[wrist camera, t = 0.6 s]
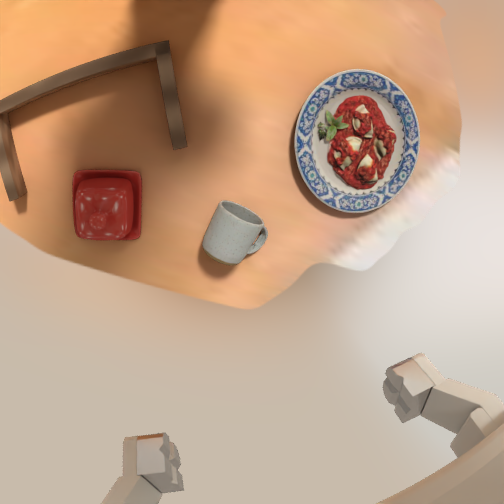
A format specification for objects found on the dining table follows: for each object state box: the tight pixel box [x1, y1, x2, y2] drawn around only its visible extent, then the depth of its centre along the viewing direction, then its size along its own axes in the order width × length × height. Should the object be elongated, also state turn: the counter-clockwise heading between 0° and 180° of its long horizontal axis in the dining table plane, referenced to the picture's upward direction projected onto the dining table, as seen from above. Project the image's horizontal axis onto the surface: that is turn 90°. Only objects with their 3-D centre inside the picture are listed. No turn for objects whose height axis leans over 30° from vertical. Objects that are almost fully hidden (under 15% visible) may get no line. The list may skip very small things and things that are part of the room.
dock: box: [0, 40, 187, 201], centre depth 39 cm, size 16×30×4 cm, turn 98°
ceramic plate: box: [294, 69, 420, 213], centre depth 50 cm, size 26×26×3 cm
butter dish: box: [72, 170, 142, 240], centre depth 43 cm, size 12×12×8 cm
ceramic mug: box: [202, 200, 268, 265], centre depth 51 cm, size 11×8×8 cm
